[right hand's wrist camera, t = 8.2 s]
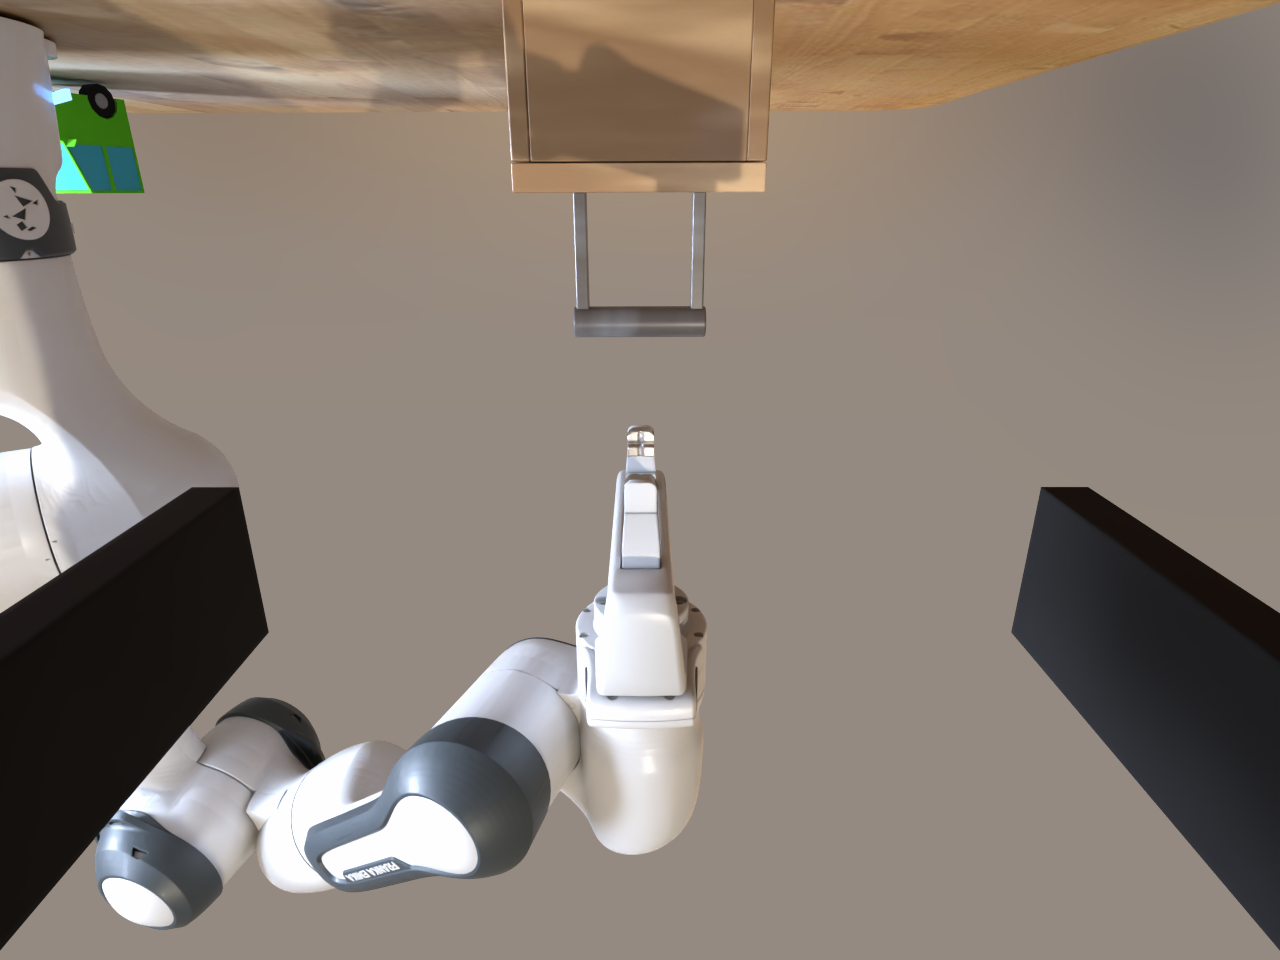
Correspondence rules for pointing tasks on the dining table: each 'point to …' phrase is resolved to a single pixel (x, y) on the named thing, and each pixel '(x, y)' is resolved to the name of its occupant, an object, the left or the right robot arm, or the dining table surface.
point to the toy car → (96, 144)
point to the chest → (638, 80)
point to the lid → (639, 180)
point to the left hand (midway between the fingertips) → (640, 450)
